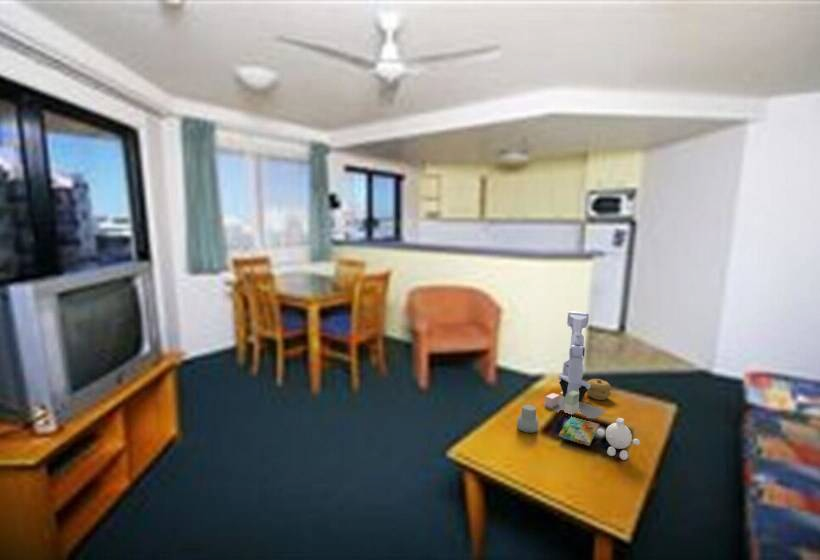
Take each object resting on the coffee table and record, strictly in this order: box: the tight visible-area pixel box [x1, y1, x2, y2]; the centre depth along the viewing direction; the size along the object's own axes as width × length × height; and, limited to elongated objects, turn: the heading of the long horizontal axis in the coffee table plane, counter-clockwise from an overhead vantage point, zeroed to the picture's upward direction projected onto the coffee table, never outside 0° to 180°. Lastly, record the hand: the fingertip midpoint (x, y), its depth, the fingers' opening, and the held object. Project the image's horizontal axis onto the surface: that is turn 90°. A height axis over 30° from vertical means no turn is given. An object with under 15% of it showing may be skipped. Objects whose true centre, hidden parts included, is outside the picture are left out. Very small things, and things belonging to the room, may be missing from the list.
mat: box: [542, 395, 606, 420], centre depth 205 cm, size 20×22×1 cm
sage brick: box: [565, 390, 579, 406], centre depth 200 cm, size 7×4×5 cm, turn 132°
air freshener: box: [516, 404, 539, 434], centre depth 183 cm, size 11×8×10 cm
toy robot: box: [596, 417, 641, 461], centre depth 165 cm, size 15×10×15 cm, turn 57°
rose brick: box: [544, 392, 560, 408], centre depth 208 cm, size 7×4×5 cm, turn 133°
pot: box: [586, 378, 612, 401], centre depth 219 cm, size 12×12×10 cm
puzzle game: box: [558, 416, 600, 447], centre depth 179 cm, size 12×5×20 cm
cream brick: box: [564, 402, 579, 415], centre depth 201 cm, size 7×4×5 cm, turn 133°
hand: (572, 398), depth 200 cm, fingers open, 7 cm apart
